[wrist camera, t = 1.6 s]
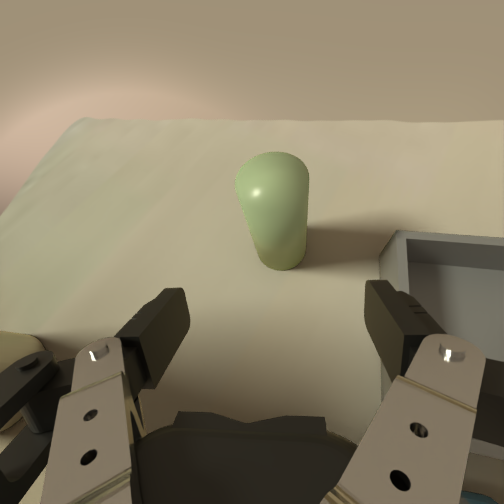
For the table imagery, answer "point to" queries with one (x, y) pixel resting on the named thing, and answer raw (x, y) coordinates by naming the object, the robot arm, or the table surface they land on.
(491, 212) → the table surface
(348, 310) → the table surface
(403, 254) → the bin
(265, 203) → the pale green rounded knob
